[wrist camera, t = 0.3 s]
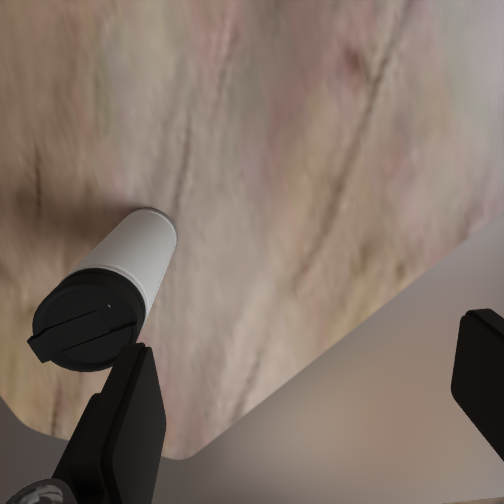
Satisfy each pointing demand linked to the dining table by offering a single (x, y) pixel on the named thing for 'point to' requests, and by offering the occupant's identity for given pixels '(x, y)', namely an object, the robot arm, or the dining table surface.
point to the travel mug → (105, 295)
